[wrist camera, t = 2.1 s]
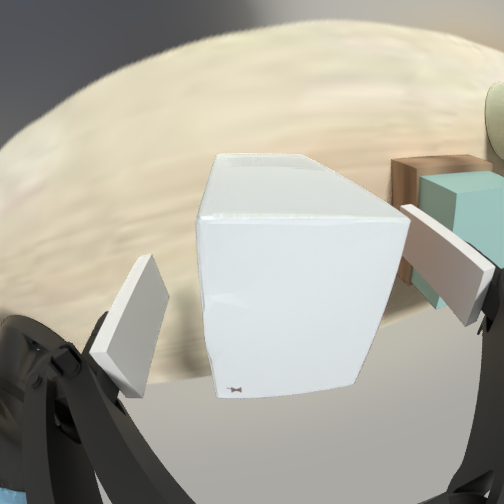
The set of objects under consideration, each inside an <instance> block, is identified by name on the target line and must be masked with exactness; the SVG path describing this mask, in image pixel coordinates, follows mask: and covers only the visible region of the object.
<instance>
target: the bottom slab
mask: <svg viewBox="0 0 504 504" xmlns="http://www.w3.org/2000/svg"><path fill="white" fill-rule="evenodd" d="M391 161H392V206H393V207H394V208H396V209H397V210H398V211H400V206H402V205H408V204H412V205H414V206H415V207H417V208H418V209H419V201H420V176H428V175H439V174H450V173H463V172H477V171H491V172H493V163H491V162H488V161H485V160H482V159H480V158H477V157H474V156H471V155H443V156H425V157H411V158H399V159H391ZM412 271H413V266H412V265H411V264H410V263H409V262H408V261H407V260H406V259H405V258H404V257H403V256H402V258H401V261H400V265H399V268H398V272H397V274H398V275H399V276H400V277H401V279H402V280H403V281H404V282H405V283H406V284H407V285H408V286H409V285H412V284H413V283H412V282H411V278H412Z"/></svg>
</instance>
